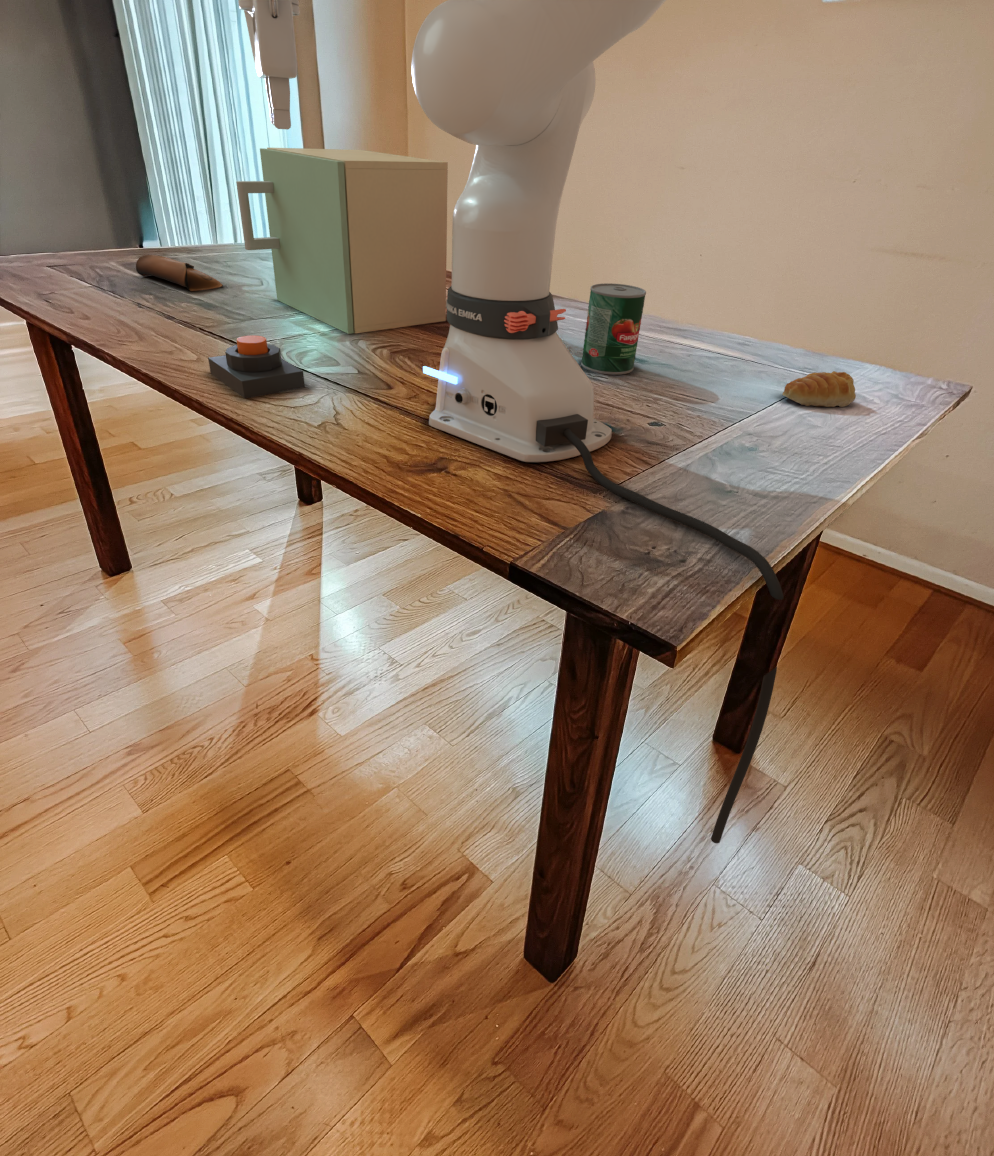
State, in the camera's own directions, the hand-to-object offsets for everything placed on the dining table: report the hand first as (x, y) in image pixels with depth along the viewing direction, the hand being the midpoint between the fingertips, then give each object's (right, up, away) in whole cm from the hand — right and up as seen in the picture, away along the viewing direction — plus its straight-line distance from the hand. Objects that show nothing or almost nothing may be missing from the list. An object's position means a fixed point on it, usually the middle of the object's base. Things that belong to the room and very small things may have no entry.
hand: (280, 127), depth 81 cm
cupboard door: (-9, -8, +37) cm, 39 cm away
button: (-6, -24, +8) cm, 26 cm away
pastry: (+70, -28, +16) cm, 77 cm away
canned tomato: (+42, -21, +24) cm, 52 cm away
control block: (-6, -27, +10) cm, 29 cm away
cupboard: (+1, -4, +44) cm, 44 cm away
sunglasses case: (-37, +5, +55) cm, 66 cm away
